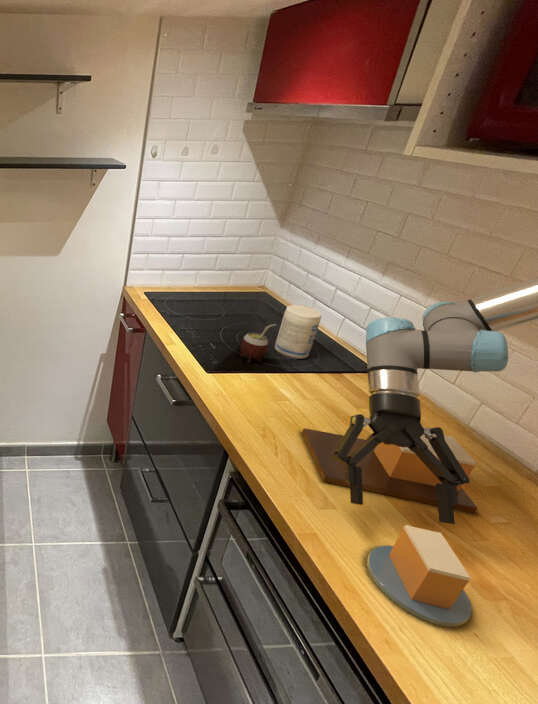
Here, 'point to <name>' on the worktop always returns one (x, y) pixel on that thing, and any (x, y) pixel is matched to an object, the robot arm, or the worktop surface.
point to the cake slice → (428, 567)
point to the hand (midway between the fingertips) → (400, 513)
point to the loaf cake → (419, 462)
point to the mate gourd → (254, 346)
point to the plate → (397, 592)
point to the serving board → (372, 472)
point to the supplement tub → (297, 331)
